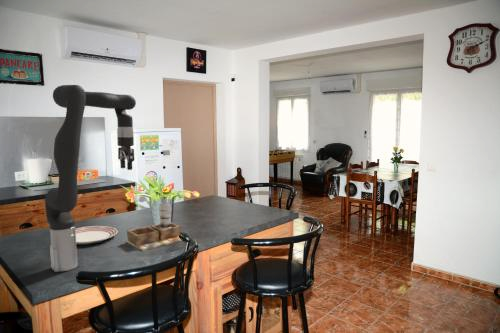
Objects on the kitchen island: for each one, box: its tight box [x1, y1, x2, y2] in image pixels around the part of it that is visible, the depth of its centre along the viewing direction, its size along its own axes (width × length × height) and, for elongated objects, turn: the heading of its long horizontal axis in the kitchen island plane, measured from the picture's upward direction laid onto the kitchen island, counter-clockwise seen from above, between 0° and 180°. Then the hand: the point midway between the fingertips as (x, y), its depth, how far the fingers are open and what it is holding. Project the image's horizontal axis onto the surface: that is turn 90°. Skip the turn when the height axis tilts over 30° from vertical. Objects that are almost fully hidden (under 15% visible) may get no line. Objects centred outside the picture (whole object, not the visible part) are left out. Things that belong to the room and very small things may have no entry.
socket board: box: [125, 222, 183, 252], centre depth 180 cm, size 24×18×6 cm
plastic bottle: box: [158, 196, 172, 230], centre depth 185 cm, size 6×7×20 cm
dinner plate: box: [75, 225, 119, 245], centre depth 185 cm, size 28×27×3 cm
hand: (126, 168), depth 177 cm, fingers open, 8 cm apart
